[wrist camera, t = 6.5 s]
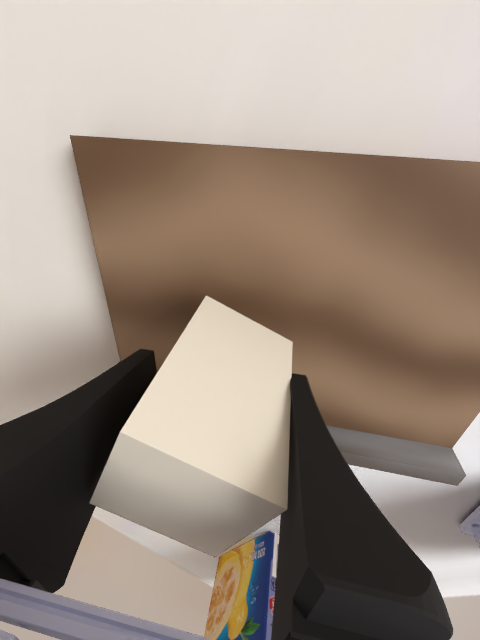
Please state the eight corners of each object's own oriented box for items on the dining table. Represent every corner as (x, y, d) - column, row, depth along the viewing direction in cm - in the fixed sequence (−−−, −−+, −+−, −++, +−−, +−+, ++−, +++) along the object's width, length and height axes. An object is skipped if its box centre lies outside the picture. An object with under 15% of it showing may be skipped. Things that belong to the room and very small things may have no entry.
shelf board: (434, 442, 18) (455, 487, 15) (137, 388, 20) (116, 420, 18) (622, 171, 10) (727, 178, 7) (89, 136, 12) (38, 133, 10)
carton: (206, 295, 12) (120, 431, 6) (292, 341, 13) (287, 509, 7) (172, 363, 15) (87, 506, 9) (245, 400, 15) (211, 559, 9)
